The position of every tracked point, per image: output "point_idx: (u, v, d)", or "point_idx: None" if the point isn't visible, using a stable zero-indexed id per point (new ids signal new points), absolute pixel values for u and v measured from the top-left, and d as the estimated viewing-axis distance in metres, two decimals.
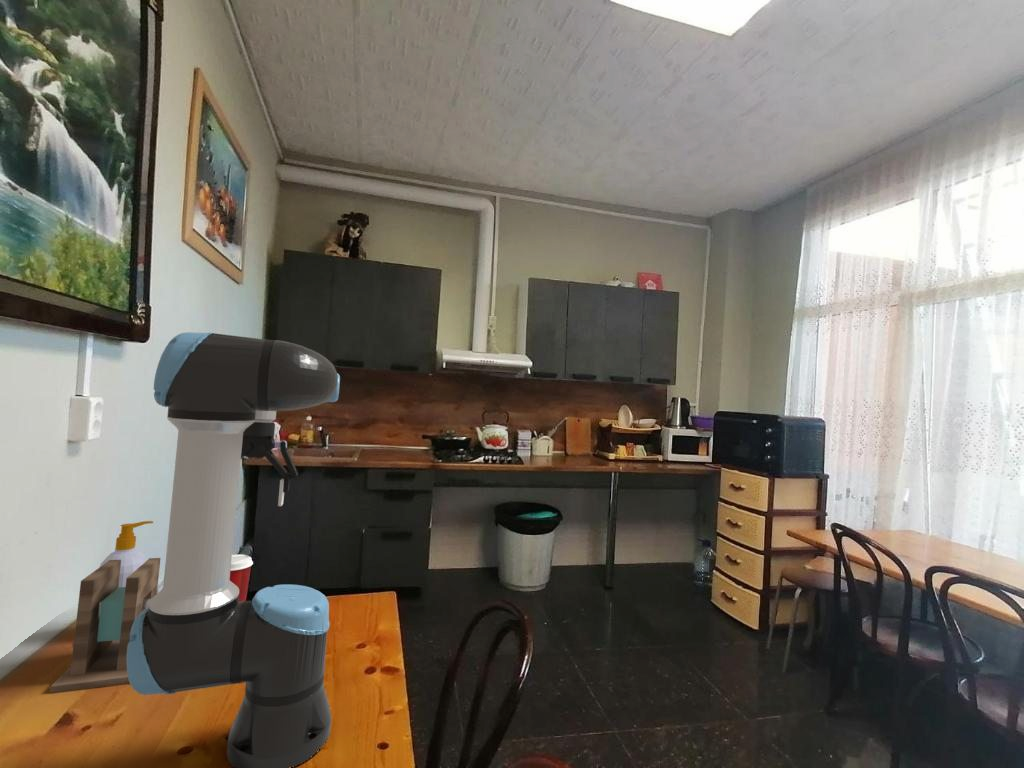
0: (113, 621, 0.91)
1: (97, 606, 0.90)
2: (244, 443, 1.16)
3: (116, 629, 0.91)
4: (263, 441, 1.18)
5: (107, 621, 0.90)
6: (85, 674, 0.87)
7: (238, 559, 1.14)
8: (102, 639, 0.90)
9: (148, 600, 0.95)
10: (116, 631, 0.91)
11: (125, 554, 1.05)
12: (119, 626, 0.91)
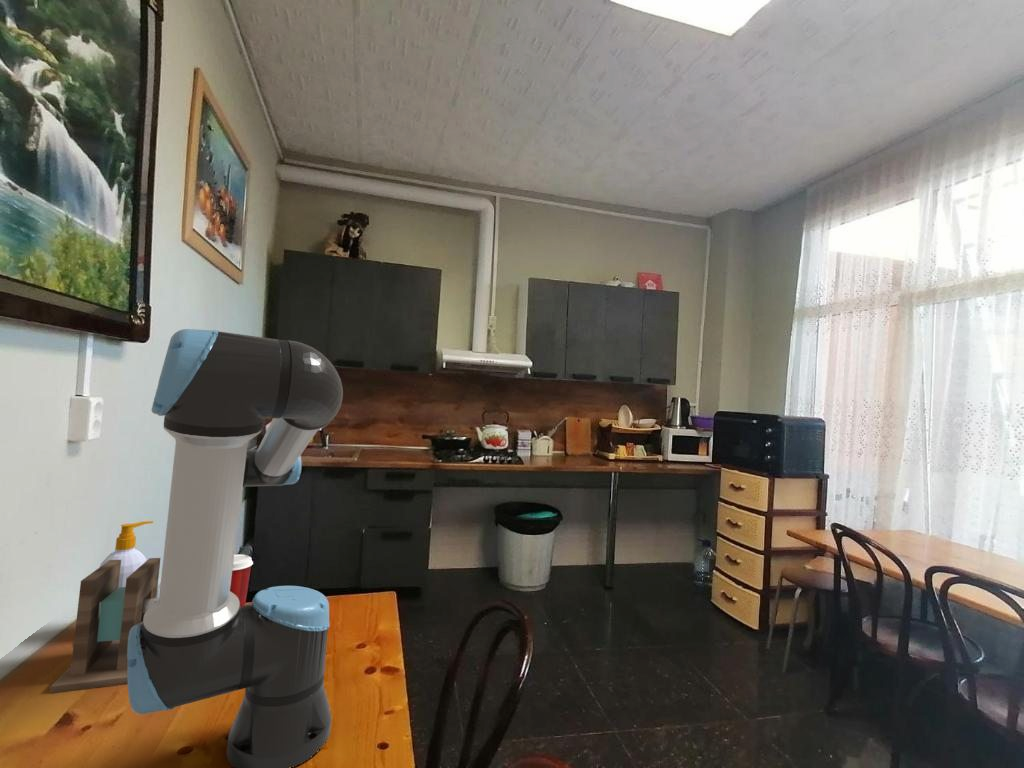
0: (113, 621, 0.91)
1: (97, 606, 0.90)
2: None
3: (116, 629, 0.91)
4: None
5: (107, 621, 0.90)
6: (85, 674, 0.87)
7: (238, 559, 1.14)
8: (102, 639, 0.90)
9: (148, 600, 0.95)
10: (116, 631, 0.91)
11: (125, 554, 1.05)
12: (119, 626, 0.91)
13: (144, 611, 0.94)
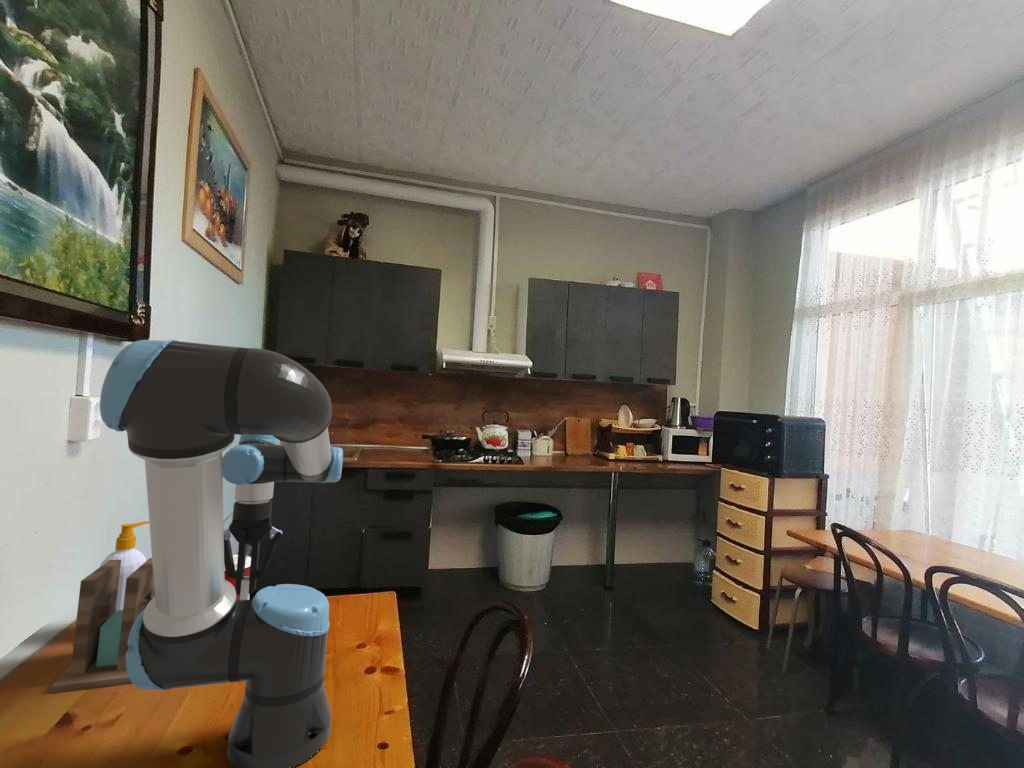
0: (112, 646, 0.90)
1: (97, 606, 0.90)
2: (236, 526, 1.01)
3: (116, 654, 0.91)
4: (263, 521, 1.03)
5: (106, 646, 0.90)
6: (85, 674, 0.87)
7: None
8: (102, 664, 0.90)
9: None
10: (115, 656, 0.91)
11: (125, 554, 1.05)
12: (118, 651, 0.91)
13: None
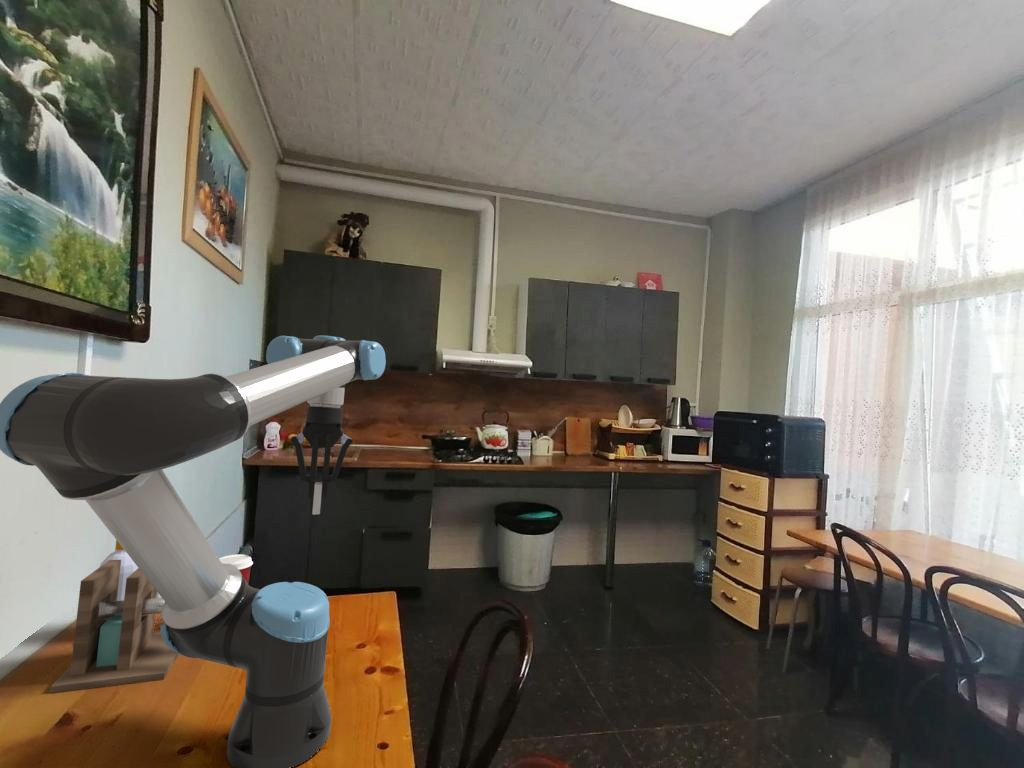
0: (112, 646, 0.90)
1: (97, 606, 0.90)
2: (309, 430, 1.01)
3: (116, 654, 0.91)
4: (335, 426, 1.03)
5: (106, 646, 0.90)
6: (85, 674, 0.87)
7: (238, 559, 1.14)
8: (102, 664, 0.90)
9: (148, 600, 0.95)
10: (115, 656, 0.91)
11: (125, 554, 1.05)
12: (118, 651, 0.91)
13: (144, 611, 0.94)
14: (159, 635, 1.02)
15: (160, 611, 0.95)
